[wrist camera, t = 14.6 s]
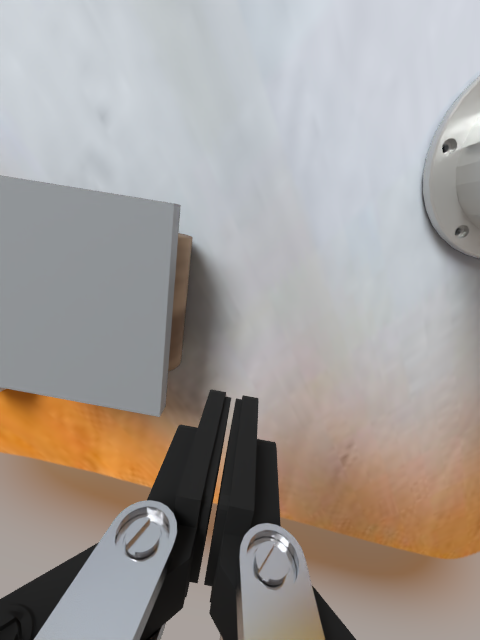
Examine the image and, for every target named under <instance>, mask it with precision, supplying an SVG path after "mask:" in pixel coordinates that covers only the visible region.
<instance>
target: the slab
mask: <svg viewBox="0 0 480 640" xmlns="http://www.w3.org/2000/svg"><path fill="white" fill-rule="evenodd" d="M179 218H180V205H178V204H173V203H167V202H161V201H155V200H148V199H142V198H136V197H130V196H124V195H118V194H112V193H105V192H99V191H93V190H87V189H81V188H75V187H68V186H62V185H56V184H50V183H44V182H38V181H32V180H25V179H19V178H13V177H7V176H1V175H0V387H1V388H7V389H12V390H17V391H23V392H28V393H34V394H39V395H44V396H50V397H55V398H61V399H66V400H71V401H77V402H82V403H88V404H93V405H98V406H104V407H109V408H114V409H120V410H125V411H131V412H136V413H141V414H147V415H152V416H158V417H160V416H161V414H162V412H163V410H164V408H165V406H166V393H167V379H168V366H169V352H170V339H171V326H172V312H173V299H174V285H175V272H176V259H177V245H178V232H179Z"/></svg>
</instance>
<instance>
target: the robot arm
mask: <svg viewBox="0 0 480 640" xmlns="http://www.w3.org/2000/svg"><path fill="white" fill-rule="evenodd" d="M442 146H444V148H445V150H444V152H443V151H442ZM423 196H424V201H425V207H426V211H427V213H428V216H429V218H430V221H431V223H432V225H433V227H434V228H435V229H436V231H437V232H438V234H439V235H440V236H441V238H442V239H444V240H445V241H446V242H447V243H448V244H449V245H450V246H452V247H453V248H454V249H456V250H458V251H460V252H462V253H464V254H466V255H469V256H472V257H476V258H480V75H479V76H478V77H477V78H476V79H475V80H474V81H473V82H472V83H471V84H470V85H469V86H468V87H467V88H466V89H465V90H464V91H463V92H462V93H461V94H460V96H459V97H458V98H457V99H456V101H455V102H454V103H453V105H452V106H451V107H450V108H449V110H448V111H447V112H446V114H445V116H444V118H443V120H442V121H441V123H440V125H439V127H438V128H437V130H436V132H435V134H434V137H433V140H432V142H431V145H430V148H429V150H428V153H427V157H426V162H425V167H424V172H423ZM456 229H457V232H456V234H455V230H456ZM225 396H226V392H221V391H216V390H210V393H209V396H208V399H207V402H206V405H205V408H204V411H203V414H202V417H201V420H200V423H199V426H198V428H195V427H190V426H185V425H179V426H178V428H177V431H176V433H175V435H174V438H173V440H172V442H171V445H170V447H169V450H168V452H167V454H166V457H165V459H164V461H163V464H162V466H161V468H160V471H159V473H158V475H157V478H156V480H155V483H154V485H153V487H152V490H151V492H150V494H149V497H148V499H147V501H140V502H138V503H135V504H132V505H130V506H129V507H127V508H126V509H125V510H123V511H122V512H121V513H120V514H119V515H118V516H117V517H116V519H115V520H114V521H113V522H112V524H111V525H110V527H109V528H108V530H107V531H106V533H105V535H104V536H103V538H102V539H101V540H100V542H99V543H97V544H95V545H94V546H92V547H90V548H88V549H87V550H85V551H83V552H81V553H80V554H78V555H76V556H74V557H73V558H71V559H69V560H67V561H66V562H64V563H62V564H61V565H59V566H57V567H55V568H54V569H52V570H50V571H48V572H47V573H45V574H43V575H41V576H40V577H38V578H36V579H34V580H33V581H31V582H29V583H28V584H26V585H24V586H22V587H21V588H19V589H17V590H15V591H14V592H12V593H10V594H9V595H7V596H5V597H3V598H1V599H0V640H160V639H161V636H162V634H163V631H164V628H165V624H166V622H167V621H168V620H169V619H170V618H172V617H173V616H174V615H175V614H176V613H177V612H178V611H180V610H181V609H182V608H183V604H184V600H185V597H186V596H187V592H188V587H189V582H194V583H198V577H199V572H200V567H201V562H202V557H203V551H204V546H205V541H206V535H207V530H208V524H209V519H210V514H211V508H212V503H213V498H214V492H215V487H216V482H217V476H218V471H219V465H220V460H221V454H222V448H223V442H224V437H225V431H226V425H227V419H228V413H229V408H230V402H231V398H230V397H225ZM257 423H258V398H254V397H249V396H243V397H242V400H241V399H236V402H235V408H234V413H233V419H232V424H231V430H230V435H229V441H228V447H227V452H226V458H225V463H224V469H223V475H222V481H221V487H220V493H219V499H218V505H217V511H216V517H215V523H214V529H213V535H212V541H211V547H210V553H209V559H208V565H207V571H206V577H205V583H204V585H208V586H212V591H211V598H210V602H211V606H210V615H211V617H212V619H213V621H214V623H215V625H216V627H217V628H218V630H219V632H220V640H356V639H355V638H354V636H353V635H352V634H351V633H350V631H349V630H348V629H347V628H346V626H345V625H344V624H343V623H342V622H341V620H340V619H339V618H338V617H337V615H336V614H335V613H334V612H333V610H332V609H331V608H330V607H329V605H328V604H327V603H326V602H325V601H324V599H323V598H322V597H321V596H320V594H319V593H318V592H317V591H316V589H315V588H314V587H313V586H312V585H311V580H310V576H309V572H308V568H307V564H306V560H305V557H304V554H303V551H302V549H301V547H300V545H299V544H298V542H297V541H296V539H295V538H294V537H293V536H292V535H291V534H290V533H289V532H288V531H287V530H286V529H284V528H282V527H280V509H279V489H278V470H277V450H276V443H275V442H270V441H265V440H259V439H257Z"/></svg>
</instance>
